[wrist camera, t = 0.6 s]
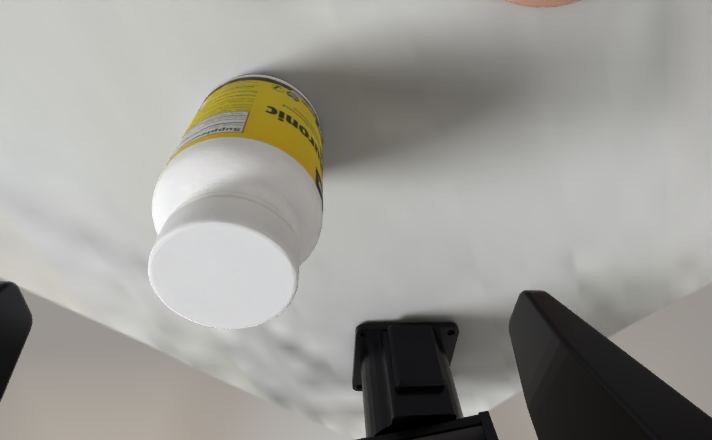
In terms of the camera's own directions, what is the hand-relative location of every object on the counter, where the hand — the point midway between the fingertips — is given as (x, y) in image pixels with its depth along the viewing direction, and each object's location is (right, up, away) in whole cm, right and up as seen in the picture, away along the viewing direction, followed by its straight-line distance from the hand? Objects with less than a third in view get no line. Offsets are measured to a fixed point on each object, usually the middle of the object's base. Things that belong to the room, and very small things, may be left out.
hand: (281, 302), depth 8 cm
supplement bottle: (-3, +6, +12) cm, 14 cm away
